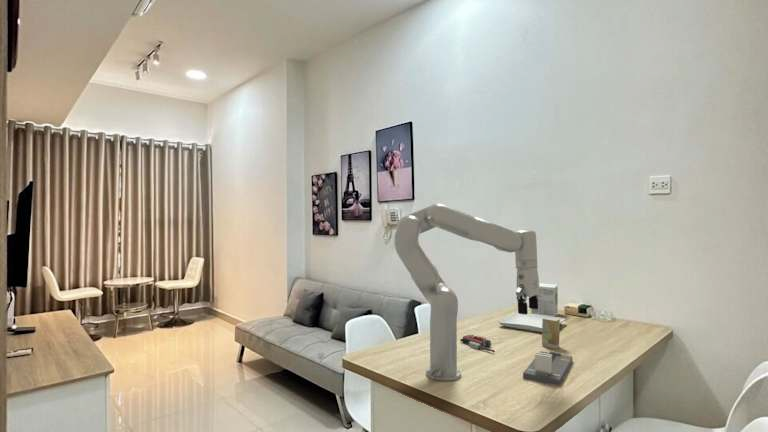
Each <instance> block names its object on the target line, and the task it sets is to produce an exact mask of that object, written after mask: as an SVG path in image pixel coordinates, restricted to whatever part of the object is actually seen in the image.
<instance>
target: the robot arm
mask: <svg viewBox="0 0 768 432" xmlns="http://www.w3.org/2000/svg"><path fill="white" fill-rule="evenodd" d="M435 228H438V229H441V230H443V231H446V232H449V233H451V234H454V235H456V236H459V237H462V238H464V239H467V240H470V241H476V242H479V243H483V244H486V245H489V246H492V247H494V248H495V249H496V250H498V251H502V252H506V253H510V254H511V253H514V254H515V257H514V258H515V261H514V262H515V269H516V291H515V294H516V301H517V312H518V313H519V314H527V313H529V312H528V307H529V309H530V310H531V309H538V293H539V292H540V288H539V283H540V281H539V280H540V279H539V273H538V272H539V271H538V269H539V268H538V267H539V266H538V248H537V247H538V246H537V234H536V232H535V231H534V230H531V229H529V230H517V231H516V230H515V231H514V230H511V229H509V228H506V227H503V226H501V225H498V224H496V223H493V222H489V221H487V220H485V219H482V218H480V217H477V216H474V215H471V214H469V213H466V212H463V211H461V210H459V209H456V208H453V207H451V206H449V205H445V204H441V203H435V204H432V205H429V206H426V207H424V208H422V209H419V210H418V211H415V212H411V213H409V214H406V215H404V216H402V217H400V218H399V219H398V221H397V223H396V230H395V234H394V248H395V251H396V255H397V256H398V258H399V259H400V262H402V263H403V265H404V267H405V268H406V270H407V271H408V274H410V278H411V279H412V282H414V284H415V286H416V287H417V288H418V290H419V291H420V292H421V294H422V296H424V298H425V300H426V301H427V302H428V304H429V305H430V315H429V316H430V317H429V318H430V319H429V348H430V349H429V351H430V352H429V354H430V355H429V356H430V357H429V362H430V363H429V364H430V365H429V367H427V369H426V370H425V375H426V377H428V378H430V379H432V380H435V381H439V382H451V381H452V382H453V381H456V380H457V381H458V379H460V378H461V377H462V371H461V370H460V369H459V368H458V356H457V355H458V351H457V350H458V347H457V346H458V344H457V343H458V341H457V339H458V333H457V332H458V330H457V327H458V326H457V325H458V324H457V321H458V320H457V318H458V313H459V311H458V310H459V300H458V296H457V294H456V293H455V292H454V290H452V288H450V287H449V286H448V285H447V284H446V283H445V281H444V279H443V278H442V277H441V276H440V274H439V271H438V269H437V268H436V267H437V266H435V265H434V264H433V263H432V262H431V260H430V258H429V257H428V256H427V255H426V252H425V251H424V250H423V249H422V247H421V245H420V243H419V242H420V241H419V236H420V234H422V233H426V232H427V231H431V230H432V229H435ZM527 300H528V303H527Z"/></svg>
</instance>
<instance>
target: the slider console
mask: <svg viewBox="0 0 768 432" xmlns="http://www.w3.org/2000/svg"><path fill="white" fill-rule="evenodd" d="M539 352H540V353H546V354H552V372H551V374H548V373H547V372H542V371H536V372H535V358H534V359H532V361H531V363H530V364H529V365H528V366H527V367H526V368H525V370H524V371H523V373H522V379H524V380H528V381H529V380H530V381H533V382H538V383H544V384H549V385H552V386H559V387H560V386H561V385H562V382H563V381H564V379H565V377H566V375H567V373H568V371H569V369H570V367H571V365H572V364H573V356H572V355H565V354H562V352H558V351H552V350H551V351H549V352H548V351H543V350H541V351H539Z"/></svg>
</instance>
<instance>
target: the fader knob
mask: <svg viewBox="0 0 768 432" xmlns="http://www.w3.org/2000/svg"><path fill="white" fill-rule="evenodd" d="M534 359H535V372H536V371H542V372H547V373H548V374H551V372H552V354H546V353H540V351H536V353H535V354H534Z"/></svg>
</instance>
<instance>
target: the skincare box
mask: <svg viewBox="0 0 768 432" xmlns="http://www.w3.org/2000/svg"><path fill="white" fill-rule="evenodd" d="M560 325H561V324H560V319H554V318H549V317H545V318H543V322H542V332H541V335H542V336H541V346H542V347H545V348H546V347H547V348H551V349H558V348H559V347H560Z"/></svg>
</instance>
